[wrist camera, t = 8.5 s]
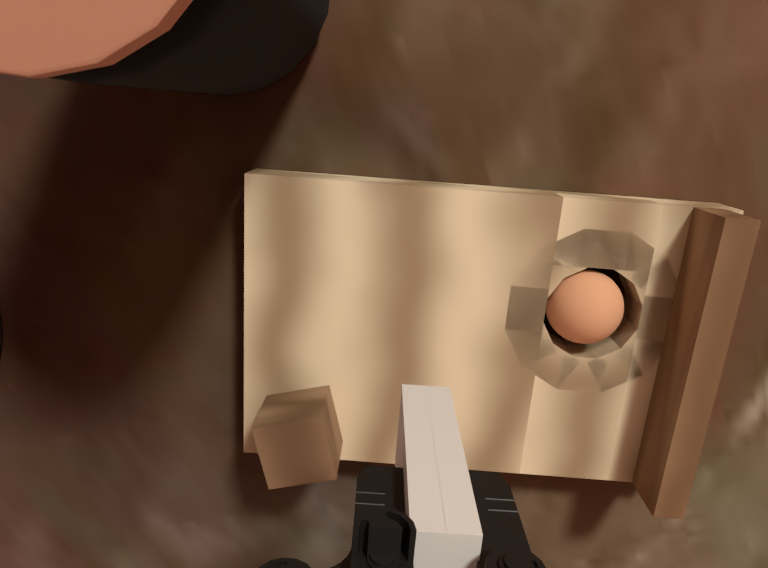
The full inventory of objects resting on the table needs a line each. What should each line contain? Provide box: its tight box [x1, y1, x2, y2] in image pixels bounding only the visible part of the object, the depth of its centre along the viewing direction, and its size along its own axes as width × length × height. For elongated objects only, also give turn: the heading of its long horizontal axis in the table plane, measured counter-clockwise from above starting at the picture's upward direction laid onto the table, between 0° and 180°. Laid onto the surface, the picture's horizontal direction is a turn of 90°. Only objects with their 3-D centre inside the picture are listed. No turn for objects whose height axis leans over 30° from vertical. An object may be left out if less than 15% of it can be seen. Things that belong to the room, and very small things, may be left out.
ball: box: [546, 269, 624, 344], centre depth 31 cm, size 4×4×4 cm
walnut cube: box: [251, 385, 343, 489], centre depth 31 cm, size 4×4×4 cm
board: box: [244, 168, 761, 519], centre depth 31 cm, size 25×16×6 cm, turn 86°
